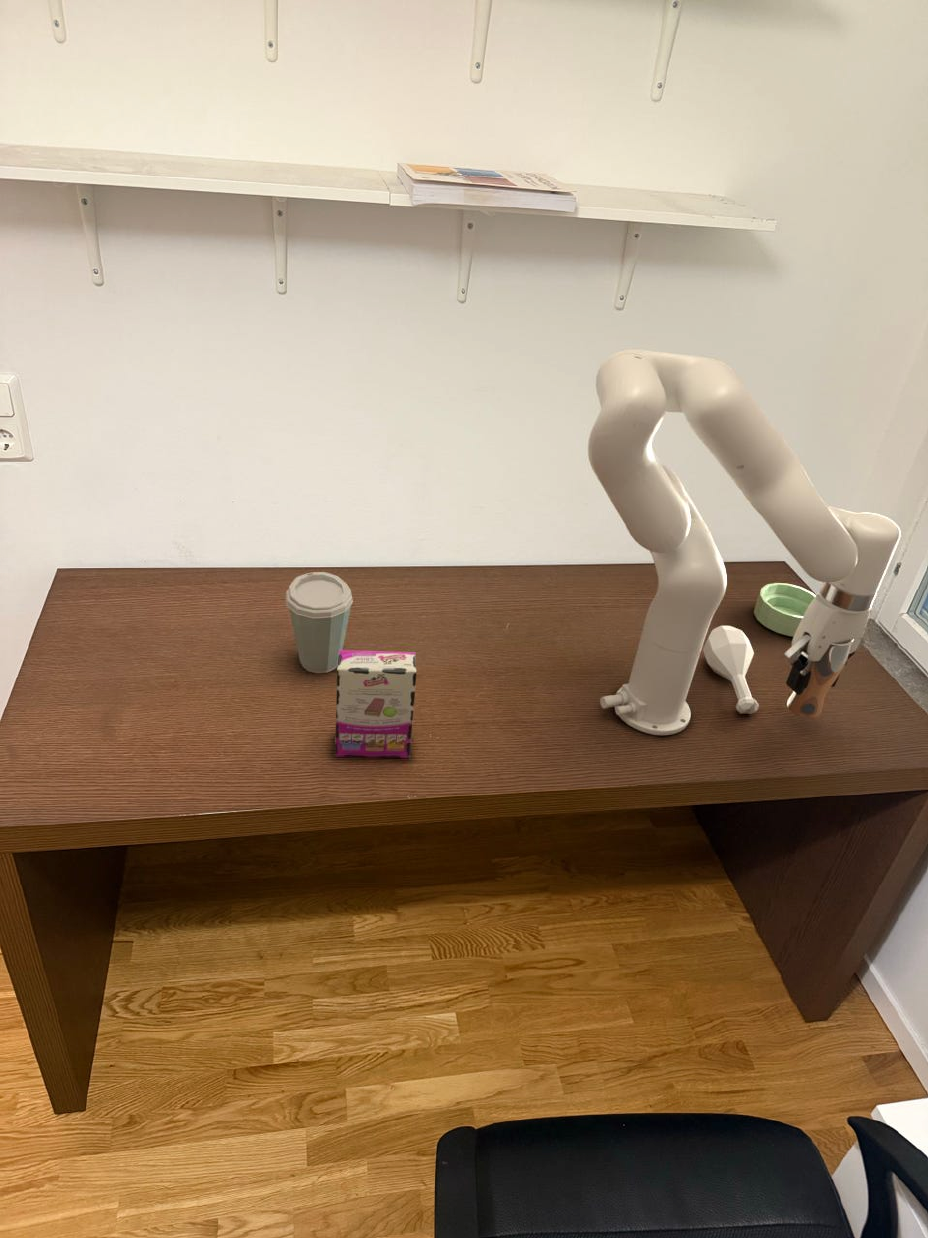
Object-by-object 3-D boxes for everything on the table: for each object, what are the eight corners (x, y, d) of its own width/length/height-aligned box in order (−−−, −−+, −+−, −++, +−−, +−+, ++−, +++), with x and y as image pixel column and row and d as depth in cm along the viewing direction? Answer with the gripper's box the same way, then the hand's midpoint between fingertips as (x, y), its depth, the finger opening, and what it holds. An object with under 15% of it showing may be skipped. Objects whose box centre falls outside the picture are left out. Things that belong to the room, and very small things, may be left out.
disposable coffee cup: (360, 674, 150) (364, 598, 142) (297, 688, 145) (298, 611, 137) (336, 638, 158) (339, 565, 149) (276, 651, 153) (275, 575, 144)
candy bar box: (408, 736, 139) (417, 650, 130) (409, 759, 135) (418, 672, 126) (334, 734, 138) (338, 647, 128) (333, 757, 133) (337, 669, 124)
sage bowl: (780, 643, 172) (788, 622, 169) (740, 608, 181) (747, 587, 178) (829, 634, 176) (838, 612, 174) (788, 600, 185) (795, 579, 183)
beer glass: (806, 689, 153) (834, 616, 145) (833, 716, 148) (864, 642, 140) (772, 696, 151) (799, 623, 143) (799, 723, 146) (828, 648, 137)
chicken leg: (714, 719, 152) (749, 691, 147) (689, 640, 164) (720, 611, 159) (751, 732, 155) (786, 705, 150) (723, 654, 168) (755, 626, 163)
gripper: (872, 572, 143) (834, 663, 153) (786, 587, 136) (753, 681, 147) (908, 598, 138) (866, 690, 148) (821, 614, 131) (783, 710, 141)
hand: (810, 684), depth 147 cm, fingers closed on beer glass, 6 cm apart
